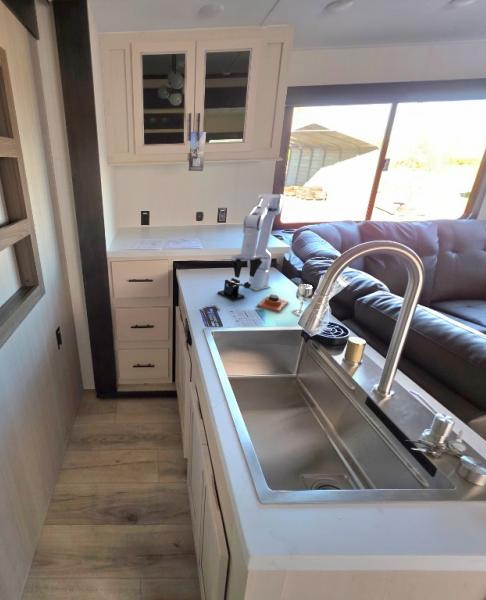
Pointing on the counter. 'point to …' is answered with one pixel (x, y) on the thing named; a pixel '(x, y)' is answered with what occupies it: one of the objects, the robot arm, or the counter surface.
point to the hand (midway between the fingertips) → (244, 276)
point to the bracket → (231, 290)
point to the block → (272, 304)
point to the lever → (242, 284)
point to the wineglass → (303, 295)
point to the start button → (273, 298)
